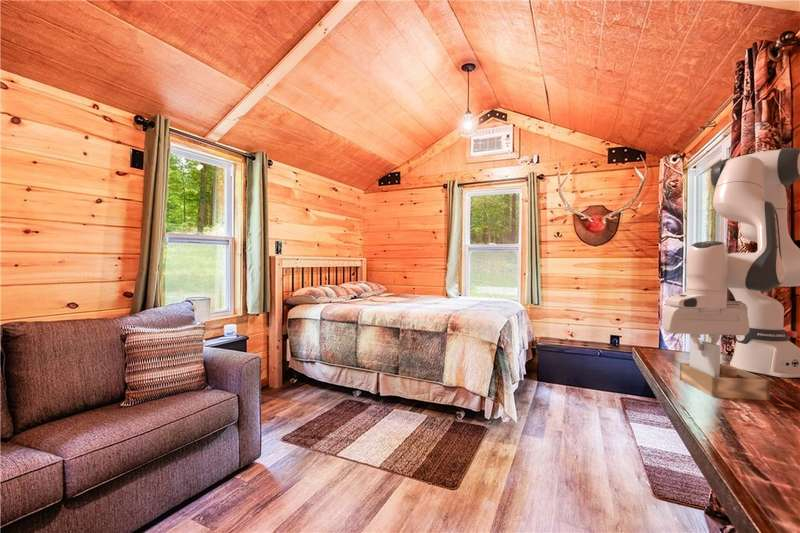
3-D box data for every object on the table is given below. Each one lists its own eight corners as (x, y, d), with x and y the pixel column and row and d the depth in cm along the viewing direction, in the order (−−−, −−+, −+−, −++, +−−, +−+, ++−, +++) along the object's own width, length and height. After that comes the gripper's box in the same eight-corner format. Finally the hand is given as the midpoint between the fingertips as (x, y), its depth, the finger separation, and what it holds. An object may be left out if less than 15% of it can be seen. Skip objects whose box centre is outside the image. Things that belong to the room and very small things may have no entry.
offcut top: (717, 370, 105) (717, 362, 105) (736, 378, 98) (737, 369, 98) (703, 370, 106) (703, 361, 106) (722, 378, 99) (722, 369, 99)
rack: (727, 384, 108) (728, 364, 108) (769, 403, 94) (770, 380, 94) (679, 382, 110) (680, 362, 110) (713, 401, 96) (714, 378, 96)
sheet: (693, 382, 107) (694, 337, 107) (718, 395, 98) (720, 345, 97) (688, 382, 108) (690, 337, 107) (713, 394, 98) (715, 345, 97)
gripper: (738, 299, 104) (736, 348, 104) (659, 298, 106) (658, 346, 107) (756, 302, 98) (755, 354, 98) (673, 300, 100) (671, 351, 100)
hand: (704, 350), depth 102 cm, fingers closed on sheet, 1 cm apart
